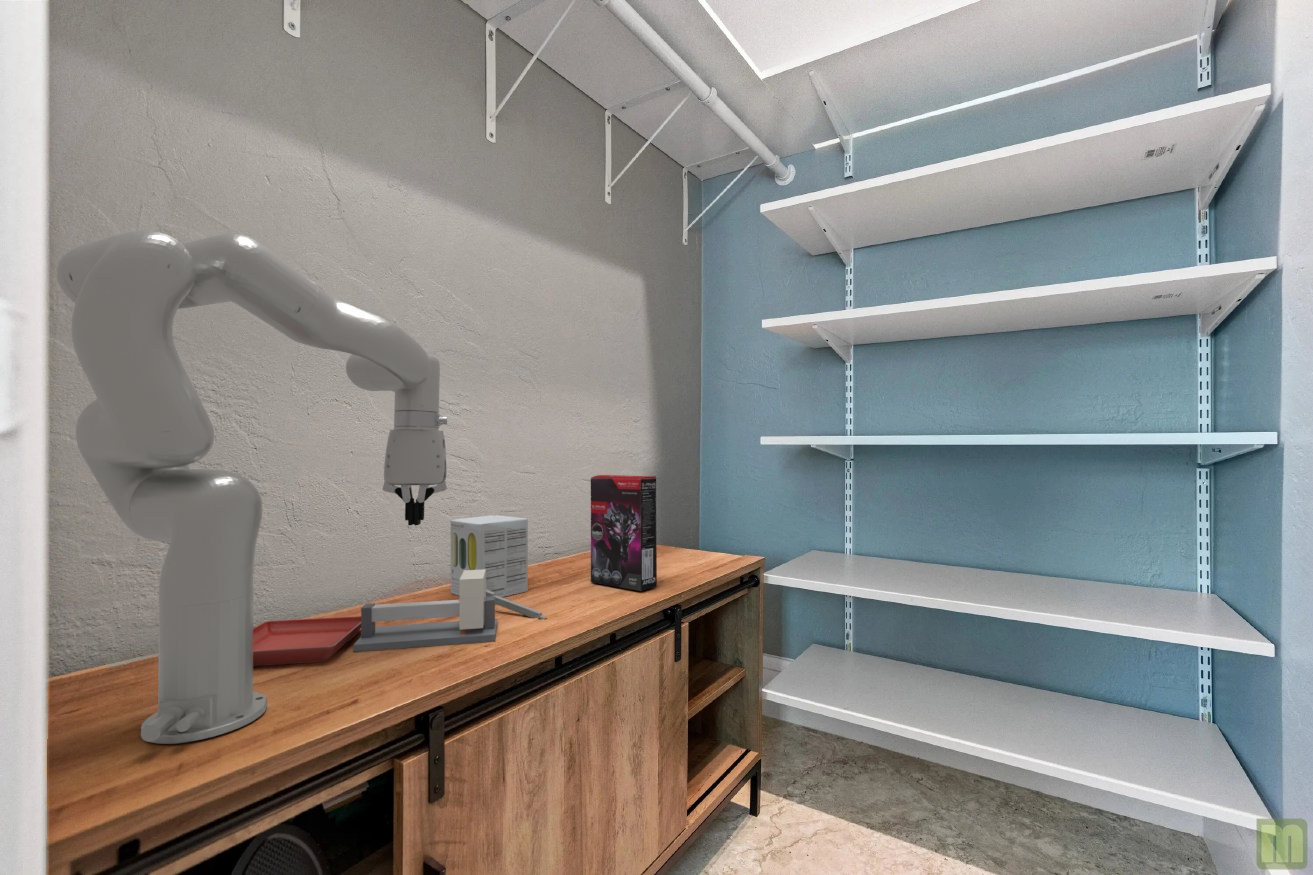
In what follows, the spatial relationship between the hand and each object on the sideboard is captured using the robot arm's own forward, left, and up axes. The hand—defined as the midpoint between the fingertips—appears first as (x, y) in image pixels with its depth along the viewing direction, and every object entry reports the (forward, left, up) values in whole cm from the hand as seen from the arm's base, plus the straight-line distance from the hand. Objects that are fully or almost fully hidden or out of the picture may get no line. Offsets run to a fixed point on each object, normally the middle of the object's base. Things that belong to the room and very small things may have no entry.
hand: (414, 524), depth 106 cm
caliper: (+13, -15, -21) cm, 29 cm away
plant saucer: (-1, +19, -21) cm, 28 cm away
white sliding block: (0, -10, -18) cm, 21 cm away
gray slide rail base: (0, -3, -21) cm, 21 cm away
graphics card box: (+31, -43, -21) cm, 57 cm away
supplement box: (+32, -11, -21) cm, 40 cm away
